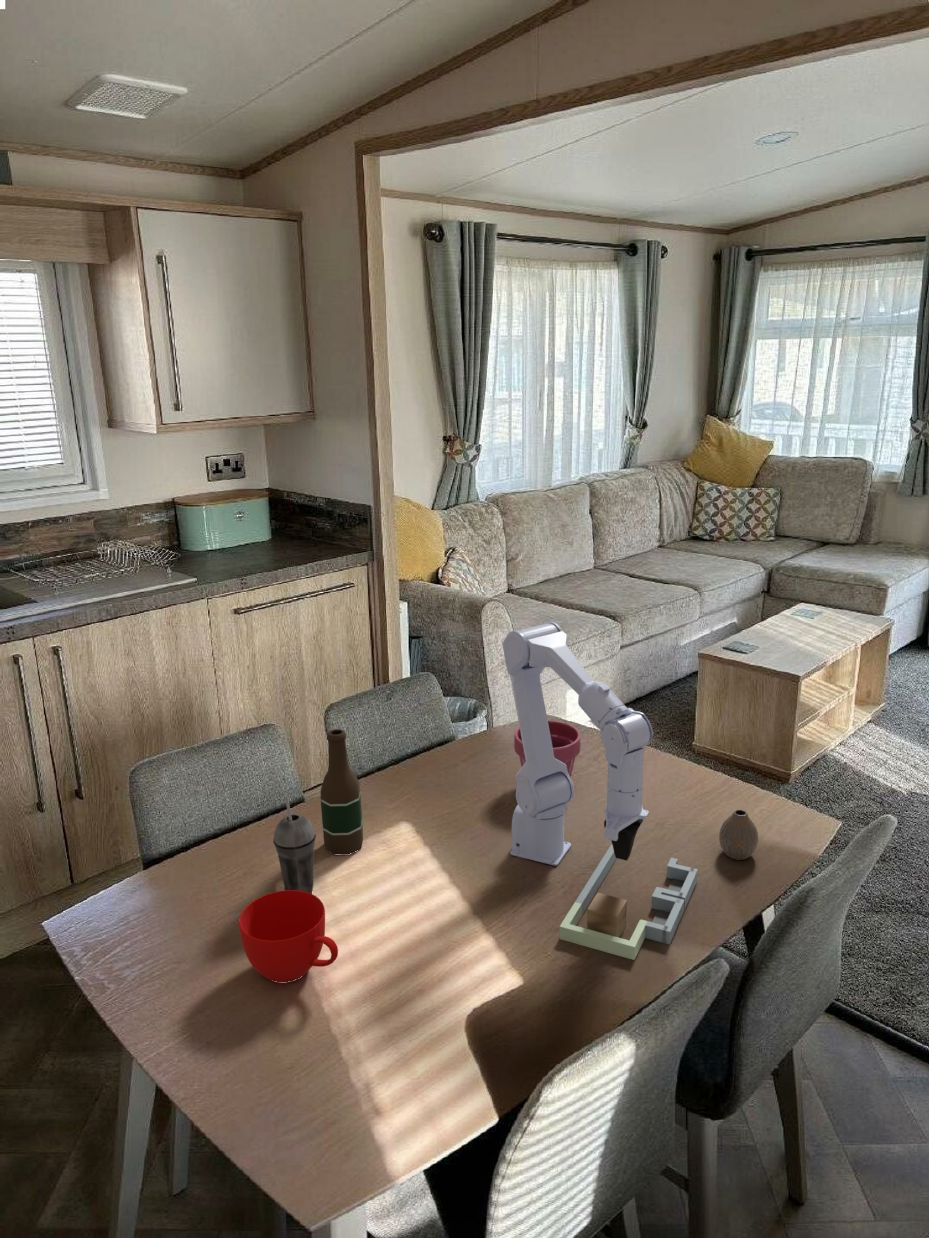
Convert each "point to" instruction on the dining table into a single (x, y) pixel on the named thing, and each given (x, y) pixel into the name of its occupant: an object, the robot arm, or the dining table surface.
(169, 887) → the dining table surface
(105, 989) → the dining table surface
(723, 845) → the vase
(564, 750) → the plant pot
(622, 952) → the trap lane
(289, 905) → the ceramic cup
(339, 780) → the beer bottle
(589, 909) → the walnut block
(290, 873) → the beverage cup
